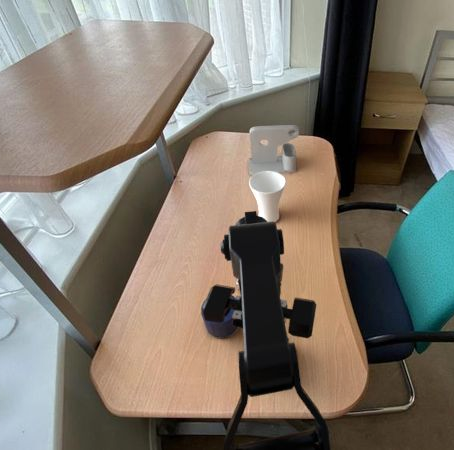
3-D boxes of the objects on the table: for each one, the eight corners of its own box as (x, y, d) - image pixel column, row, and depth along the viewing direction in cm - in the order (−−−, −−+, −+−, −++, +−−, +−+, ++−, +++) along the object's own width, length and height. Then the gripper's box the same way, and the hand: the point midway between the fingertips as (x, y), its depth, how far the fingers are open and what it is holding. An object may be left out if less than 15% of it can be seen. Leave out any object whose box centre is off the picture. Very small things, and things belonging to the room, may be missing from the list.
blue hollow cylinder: (234, 340, 72) (231, 326, 68) (200, 334, 73) (195, 320, 68) (244, 310, 78) (242, 295, 73) (213, 304, 78) (208, 289, 74)
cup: (251, 205, 104) (248, 171, 95) (284, 204, 105) (284, 170, 96) (252, 229, 97) (248, 194, 87) (287, 227, 98) (287, 192, 89)
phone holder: (293, 156, 125) (295, 112, 113) (297, 172, 118) (299, 126, 106) (248, 159, 123) (244, 114, 110) (249, 175, 116) (245, 129, 103)
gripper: (323, 255, 55) (316, 304, 66) (218, 239, 57) (228, 289, 68) (314, 313, 47) (308, 357, 58) (192, 292, 49) (209, 339, 60)
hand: (262, 332), depth 61 cm, fingers closed
